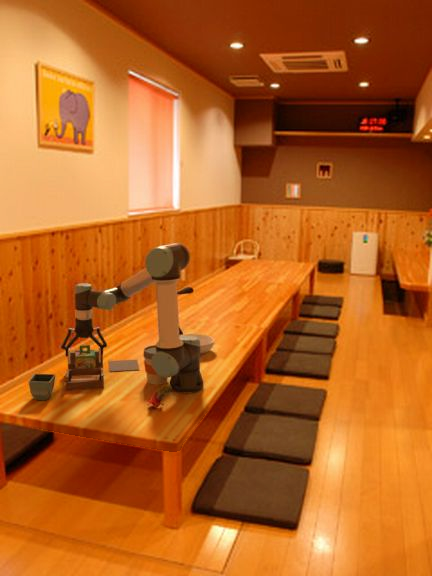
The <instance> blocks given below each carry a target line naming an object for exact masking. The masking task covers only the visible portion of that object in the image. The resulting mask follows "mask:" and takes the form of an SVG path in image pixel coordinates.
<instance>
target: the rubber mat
mask: <svg viewBox="0 0 432 576" xmlns="http://www.w3.org/2000/svg"><path fill="white" fill-rule="evenodd" d="M108 368H109V372H110V373H117V372H118V373H119V372H135V371H136V372H137V371H140V366H139V362H138V359H123V360H119V359H118V360H108Z"/></svg>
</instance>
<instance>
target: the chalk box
mask: <svg viewBox="0 0 432 576" xmlns="http://www.w3.org/2000/svg"><path fill="white" fill-rule="evenodd" d="M85 348H86V349H85ZM95 350H96V349H91V346H90V344H86V345H85V344H84V345H80V346H79V350H78V349H77V350H74V351H75V369H87V368H96V355H95Z"/></svg>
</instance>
